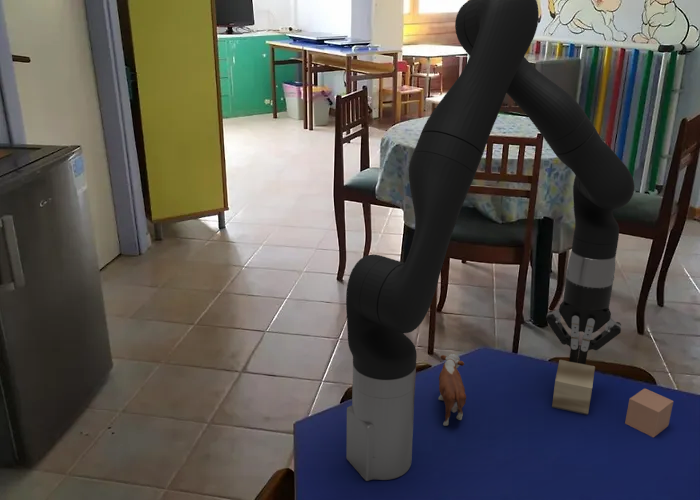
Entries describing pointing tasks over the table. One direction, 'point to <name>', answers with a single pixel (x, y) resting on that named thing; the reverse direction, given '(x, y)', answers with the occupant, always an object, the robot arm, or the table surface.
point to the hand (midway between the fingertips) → (576, 366)
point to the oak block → (573, 387)
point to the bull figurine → (452, 387)
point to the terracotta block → (649, 412)
